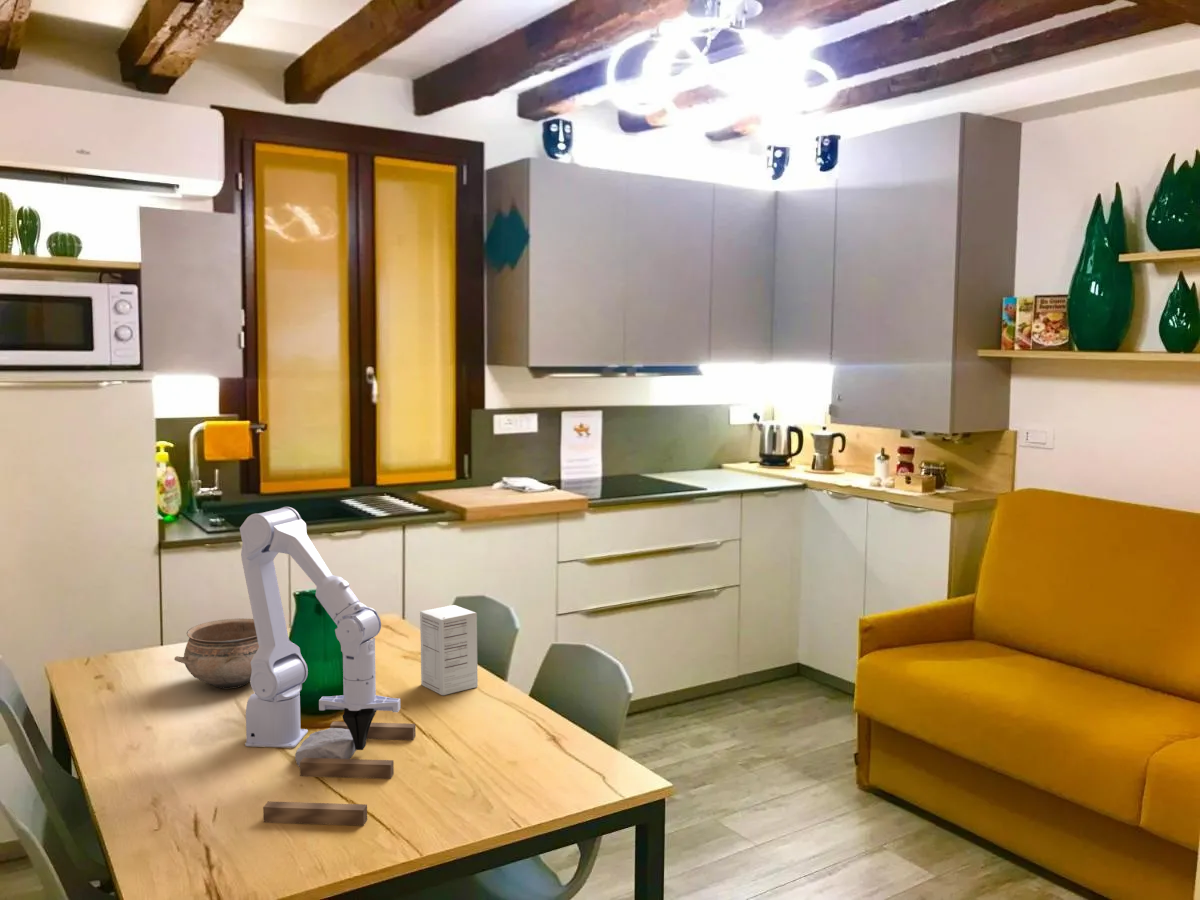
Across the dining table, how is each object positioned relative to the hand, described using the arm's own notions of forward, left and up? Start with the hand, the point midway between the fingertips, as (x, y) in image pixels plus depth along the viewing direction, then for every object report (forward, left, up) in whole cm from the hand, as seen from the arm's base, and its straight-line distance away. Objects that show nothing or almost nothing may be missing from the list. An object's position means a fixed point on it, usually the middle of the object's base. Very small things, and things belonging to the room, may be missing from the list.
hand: (360, 747), depth 186 cm
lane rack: (0, -8, -1) cm, 9 cm away
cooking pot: (-39, +36, -2) cm, 53 cm away
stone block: (-6, 0, -2) cm, 7 cm away
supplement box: (+9, +38, -2) cm, 39 cm away
